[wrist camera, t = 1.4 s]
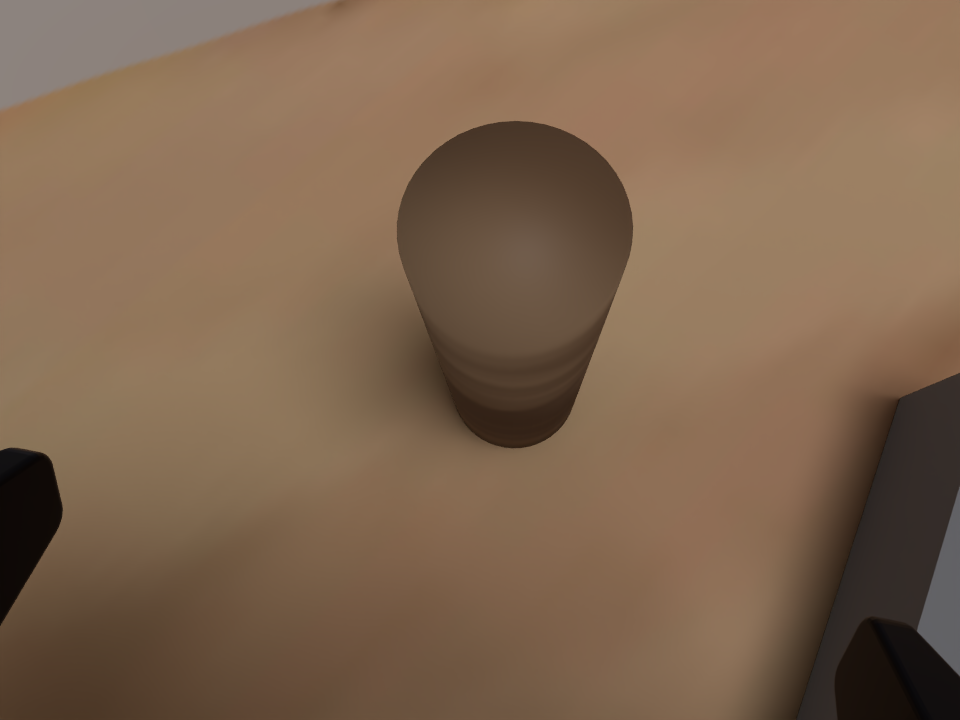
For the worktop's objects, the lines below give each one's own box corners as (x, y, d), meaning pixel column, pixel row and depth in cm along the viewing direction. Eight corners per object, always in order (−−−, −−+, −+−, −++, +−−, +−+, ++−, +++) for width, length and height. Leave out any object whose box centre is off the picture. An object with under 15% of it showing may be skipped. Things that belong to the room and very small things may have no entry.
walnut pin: (547, 468, 21) (579, 377, 11) (433, 418, 22) (357, 285, 11) (594, 356, 22) (667, 168, 12) (483, 311, 23) (455, 90, 12)
